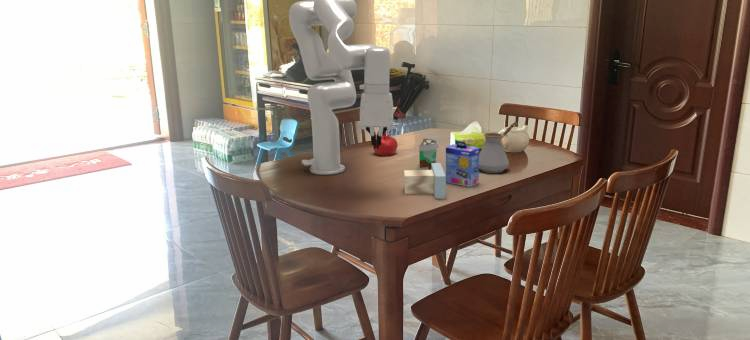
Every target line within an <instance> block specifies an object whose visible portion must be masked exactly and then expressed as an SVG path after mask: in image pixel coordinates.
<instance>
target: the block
mask: <svg viewBox="0 0 750 340" xmlns="http://www.w3.org/2000/svg"><path fill="white" fill-rule="evenodd" d="M403 181H404V182H403V189H404V195H428V194H429V195H434V174H433V171H432V170H420V169H409V170H407V169H406V170H405V169H404V170H403Z"/></svg>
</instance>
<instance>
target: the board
mask: <svg viewBox="0 0 750 340" xmlns="http://www.w3.org/2000/svg"><path fill="white" fill-rule="evenodd" d="M431 170H432V171H433V174H434V194H433V195H434V198H435V200H436V199H437V200H440V199H443V200H444V199H446V190H447V189H446V186H447V185H446V183H447V182H446V172H445V171H444V168H443V166H442V163H441V162H436V163H431Z"/></svg>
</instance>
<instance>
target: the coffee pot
mask: <svg viewBox="0 0 750 340" xmlns="http://www.w3.org/2000/svg"><path fill="white" fill-rule="evenodd" d="M515 125H517V126H515ZM518 127H519V124H518V123H517V122H513V123H512V124H510V125H509V127H507V128H506V130H505V131H504V132H502V133H498V132H490V133H489V132H487V133H484V135H483V136H484V138H485V142H484V143H483V146H482V147H481V150H480V151H479V170H480V171H481V172H483V173H488V174H499V173H503V172H504V170H506V169H507V168H508V167H509V165H510V162H509V159H508V157H507V154H506V151H505V149H504V145H503V143H502V141H501V140H502V139H503V138H505V136H506V135H507V134H509V133H510V131H511V130H512V129H513V128H518Z"/></svg>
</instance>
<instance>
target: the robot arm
mask: <svg viewBox="0 0 750 340" xmlns="http://www.w3.org/2000/svg"><path fill="white" fill-rule="evenodd" d="M356 3H357V2H356V1H355V0H301V1H300V0H298V1H296V2H294V3H293V4H292V5H291V6H290V8H289V11H288V22H289V27H290V30H291V32H292V33H293V34H292V35H293V36H294V38H295V40H296V42H297V45H298V48H299V52H300V56H301V60H302V64H303V67H304V71H305V74H306V77H307V78H308V79H309V80H311V81H325V82H318V83H315V84H313V85H311V86H310V87H309V88H308V90H307V94H306V95H307V96H306V97H307V102H308V106H309V111H310V117H311V118H310V120H311V130H312V133H311V134H312V135H311V136H312V149H313V150H312V151H313V152H312V153H313V157H312V158H310V159H301V166H304V167H309V166H310V167H309V171H310V173H312V174H315V175H325V176H327V175H337V174H340V173H343V172H344V171H345V170H346V167H345V165H344V164H341V151H340V150H341V147H340V146H341V145H340V143H341V142H340V125H339V119H338V117H337V116H336V114H335V112H333V110H335V109H345V108H349V107H352V106H353V105H354V104H355V103H356V101H357V91H356V86H355V83H354V79H353V75H352V71H356V70H364V73H363V75H364V80H363V81H364V83H363V84H359V90H362V91H363V92H362V94H361V96H360V105H359V125H358V126H359V127H358V128H359V129H360V130H364V131H366V132H367V133H368V134H369V135H370V136H371V146H373V145H374V149H375V148H376V139H377V149H379V145H381V137H382V136H383V135H384V133H385V132H386V133H387V131H392V130H394V129H395V126H394V102H393V94H392V92H390V71H391V70H390V63H391V62H390V59H391V58H390V57H391V56H390V55H391V51H390V50H389V48H387V47H386V46H385V47H384V46H378V45H377V44H373V43H366V44H365V43H363V44H345V43H344V42H343V41H345V40H346V39H348V38H349V37H350V36H351V35H352V33H353V32H354V29H355V22H354V21H353V19H355V17H356V15H357V13H358V12H357V11H358V9H357V8H358V7H357V4H356ZM313 26H315V27H317V26H319V27H320V26H323V27H324V28H325V30H326V31H327V32H328V37H327V49H328V51H326V50H325V46H324V43H323V40H322V38H321V36H320V35H319V33H318V32H317V31H316V30H314V29H313V28H312V27H313ZM327 80H334V81H327ZM375 128H378V131H377V133H376V131H375ZM376 137H377V138H376ZM374 149H373V150H374Z"/></svg>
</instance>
